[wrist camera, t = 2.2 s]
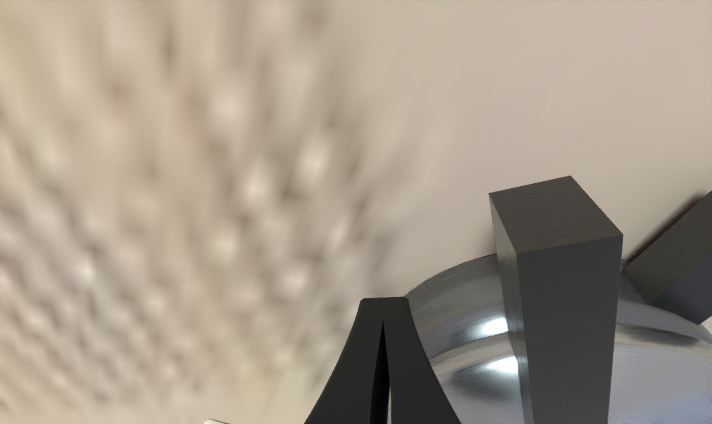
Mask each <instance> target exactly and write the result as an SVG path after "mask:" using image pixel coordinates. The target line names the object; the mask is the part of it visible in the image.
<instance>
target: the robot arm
mask: <svg viewBox="0 0 712 424" xmlns="http://www.w3.org/2000/svg"><path fill="white" fill-rule="evenodd" d="M390 390H391V424H462V423H461V422H460V420H459V418H458V417H457V415H456V413H455V411H454V410H453V408H452V406H451V404H450V402H449V400H448V399H447V397H446V395H445V393H444V391H443V389H442V387H441V385H440V383H439V381H438V379H437V377H436V375H435V373H434V371H433V369H432V366H431V364H430V362H429V360H428V357H427V355H426V353H425V350H424V348H423V346H422V343H421V341H420V338H419V335H418V332H417V330H416V327H415V324H414V320H413V317H412V313H411V309H410V304H409V299H407V298H406V297H387V298H364V299H362V300H361V301H360V304H359V308H358V312H357V315H356V318H355V321H354V324H353V327H352V329H351V332H350V334H349V337H348V340H347V342H346V344H345V346H344V349H343V351H342V353H341V356H340V358H339V360H338V362H337V364H336V366H335V368H334V370H333V372H332V374H331V376H330V378H329V380H328V382H327V384H326V386H325V388H324V390H323V392H322V394H321V396H320V397H319V399H318V401H317V403H316V405H315V406H314V408H313V410H312V411H311V413H310V415H309V416H308V418H307V420H306V421H305V423H304V424H387V423H388V408H389V392H390Z"/></svg>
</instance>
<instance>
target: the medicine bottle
mask: <svg viewBox="0 0 712 424" xmlns="http://www.w3.org/2000/svg"><path fill="white" fill-rule="evenodd" d="M204 424H225V423H222V422H218V421H214V420H207V421H205V423H204Z"/></svg>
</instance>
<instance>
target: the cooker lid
mask: <svg viewBox="0 0 712 424" xmlns="http://www.w3.org/2000/svg"><path fill="white" fill-rule="evenodd" d="M489 200H490V207H491V215H492V222H493V229H494V236H495V244H496V251H497V258H498V265H499V272H500V280H501V287H502V294H503V301H504V309H505V316H506V323H507V330H508V333H504V334H500V335H496V336H493V337H489V338H485V339H482V340H478V341H474V342H471V343H469V344H466V345H463V346H461V347H458V348H455V349H452V350H450V351H447V352H445V353H443V354H441V355H439V356H437V357H434V358H432V359H430V360H429V362H430V364H431V366H432V369H433V371H434V373H435V375H436V377H437V379H438V381H439V383H440V385H441V387H442V389H443V391H444V393H445V395H446V397H447V399H448V400H449V402H450V404H451V406H452V408H453V410H454V411H455V413H456V415H457V417H458V418H459V420H460V422H461V423H462V424H712V345H711V344H709V343H707V342H704V341H702V340H700V339H697V338H693V337H690V336H686V335H682V334H679V333H675V332H672V331H667V330H661V329H655V328H649V327H643V326H633V325H619V324H616V316H617V304H618V292H619V279H620V267H621V255H622V243H623V234H622V233H621V232H620V230H619V229H618V228H617V227H616V226H615V225H614V224H613V223H612V221H611V220H610V219H609V218H608V217H607V216H606V215H605V214H604V212H603V211H602V210H601V209H600V208H599V207H598V206H597V205H596V204H595V202H594V201H593V200H592V199H591V198H590V197H589V196H588V195H587V193H586V192H585V191H584V190H583V189H582V188H581V187H580V186H579V185H578V183H577V182H576V181H575V180H574V179H573V178H572V177H571V176H566V177H562V178H557V179H552V180H548V181H543V182H539V183H534V184H529V185H525V186H520V187H515V188H511V189H506V190H502V191H497V192H492V193H489ZM387 424H391V390H390V392H389V408H388V423H387Z"/></svg>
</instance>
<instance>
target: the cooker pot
mask: <svg viewBox="0 0 712 424" xmlns="http://www.w3.org/2000/svg"><path fill="white" fill-rule="evenodd" d="M404 297H406V298H407V299H409V304H410V309H411V313H412V317H413V320H414V324H415V327H416V330H417V332H418V335H419V338H420V341H421V343H422V346H423V348H424V350H425V353H426V355H427V357H428V360H430V359H432V358H434V357H437V356H439V355H441V354H443V353H445V352H447V351H450V350H452V349H455V348H458V347H461V346H463V345H466V344H469V343H471V342H474V341H478V340H482V339H485V338H489V337H493V336H496V335H500V334H504V333H508V330H507V323H506V316H505V309H504V301H503V294H502V287H501V280H500V272H499V265H498V258H497V254H492V255H488V256H484V257H481V258H478V259H474V260H471V261H468V262H464V263H462V264H460V265H457V266H455V267H452V268H450V269H448V270H445V271H443V272H441V273H439V274H437V275H436V276H434V277H432V278H430V279H428V280H426V281H424V282H423V283H422V284H420V285H419V286H417V287H416V288H415V289H413V290H412V291H410V292H409V293H408V294H407V295H405V296H404ZM711 316H712V191H711V192H709V193H708V194H707V195H706V196H705V197H704V198H703V199H702V200H700V201H699V202H698V203H697V204H696V205H695V206H694V207H693V208H692V209H690V210H689V211H688V212H687V213H686V214H685V215H684V216H683V217H681V218H680V219H679V220H678V221H677V222H676V223H675V224H674V225H673V226H671V227H670V228H669V229H668V230H667V231H666V232H665V233H664V234H662V235H661V236H660V237H659V238H658V239H657V240H656V241H655V242H654V243H652V244H651V245H650V246H649V247H648V248H647V249H646V250H645V251H643V252H642V253H641V254H640V255H639V256H638V257H637V258H636V259H635V260H633V261H632V262H630V261H627V260H624V259H621V267H620V279H619V292H618V304H617V316H616V324H619V325H633V326H643V327H649V328H655V329H661V330H667V331H672V332H675V333H679V334H682V335H686V336H690V337H693V338H697V339H700V340H702V341H704V342H707V343H709V344H711V345H712V335H711V334H710V333H709V331H708V330H707V329H706V328H705V327H704V326H703V325H702V324H701V323H702V322H703V321H705V320H706V319H708V318H709V317H711Z"/></svg>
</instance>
